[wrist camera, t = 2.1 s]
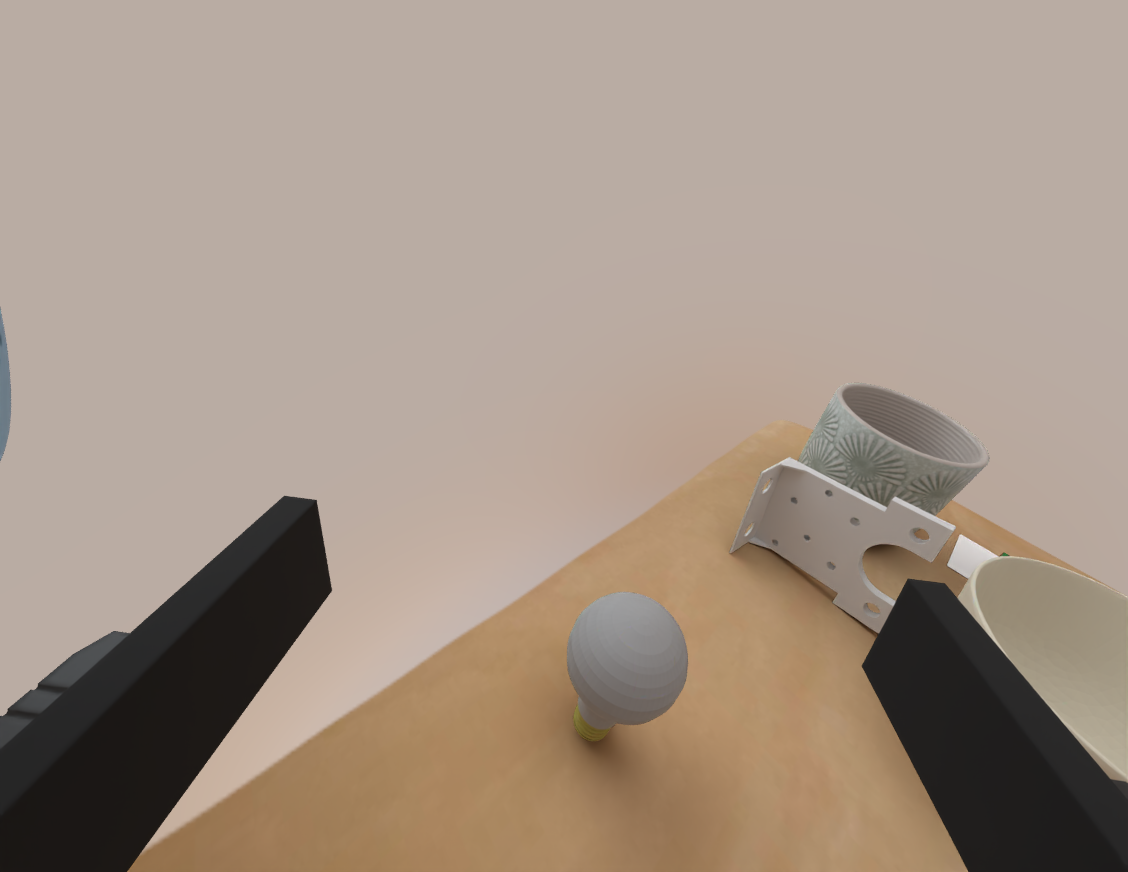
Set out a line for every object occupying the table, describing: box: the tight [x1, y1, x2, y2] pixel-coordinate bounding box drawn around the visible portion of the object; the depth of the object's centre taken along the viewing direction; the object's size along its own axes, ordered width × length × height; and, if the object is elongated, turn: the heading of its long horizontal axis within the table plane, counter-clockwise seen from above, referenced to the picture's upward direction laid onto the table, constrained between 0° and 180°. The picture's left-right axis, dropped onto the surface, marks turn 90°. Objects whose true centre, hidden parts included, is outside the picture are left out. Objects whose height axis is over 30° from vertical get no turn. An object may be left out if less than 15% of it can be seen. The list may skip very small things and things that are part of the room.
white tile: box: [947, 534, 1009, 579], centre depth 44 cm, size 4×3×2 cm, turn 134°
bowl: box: [958, 556, 1128, 783], centre depth 27 cm, size 16×16×10 cm
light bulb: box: [567, 592, 688, 741], centre depth 24 cm, size 6×6×10 cm
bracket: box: [729, 457, 956, 634], centre depth 36 cm, size 11×4×10 cm, turn 39°
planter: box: [798, 383, 990, 533], centre depth 45 cm, size 12×12×11 cm
